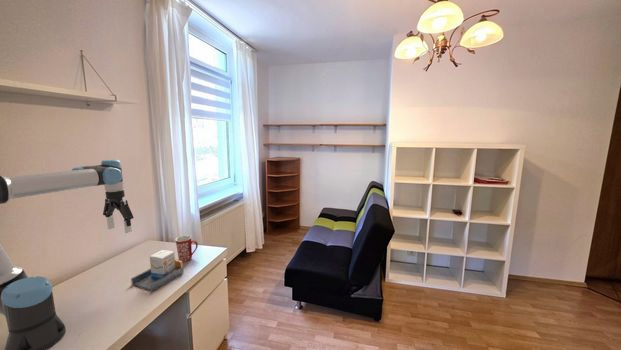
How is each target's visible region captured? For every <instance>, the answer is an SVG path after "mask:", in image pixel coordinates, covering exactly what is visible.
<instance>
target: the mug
mask: <svg viewBox="0 0 621 350" xmlns="http://www.w3.org/2000/svg"><path fill="white" fill-rule="evenodd" d="M174 239H175V245H176V251H177V257H178V260H180V261H182V263H183V261H184V262H188V261H190V260H191V259H192V258H193V255H194V253H195V252H196V251H197V250H198V246H199V245H198V241H197V240H196V239H195V240H192V236H191V235H187V234H186V235H181V236H178V237H175V238H174ZM193 243H194V244H195V248H194V250H193V251H192V249H193V248H192V244H193Z"/></svg>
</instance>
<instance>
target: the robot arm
mask: <svg viewBox="0 0 621 350" xmlns="http://www.w3.org/2000/svg"><path fill="white" fill-rule="evenodd" d="M98 186H104V191H105V199H104V208H103V211H102V215H103V216H105V218H106V222H107V229H108V230H111V229H115V227H116V226H115V221H114V212H115V210H117V211H119V213H120V215H121V216H122V218H123V225H124V233H125V234H128V233H130V232H132V222H131V220H132V219H134V215H133V213H132V210H131V209H130V206H129V204H128V203H129V202H128V200H127V199H125V200H123V198H124V197H126V195H125V190H124V188H125V187H124V178H123V170H122V164H121V161H120V160H119V159H104V160H101V163H100V164H98V165H86V166H78V167H77V166H76V167H73V168H72V169H71V170H63V171H56V172H55V171H54V172H44V173H32V174H25V175H24V174H23V175H13V176H4V175H2V174H0V205H3V204H7V203H8V202H10V200H13V199H15V200H16V199H21V198H26V197H33V196H39V195H46V194H52V193H58V192H64V191H71V190H77V189H85V188H89V187H98ZM54 299H55V298H54V293H53V285H52V283H51V280H50V279H49V278H47V277H45V276H40V275H38V276H30V277H29V276H28V275H27V273H26V272H25V271H24V269H23V267H22V266H18V265H17V266H16V265H14V264H13V262H12V260H11V259H10V257H9V255H8V254H7V251H6V250H5V249H4V247H3V245H2V243H0V315H2V316H4V318H5V320H6V325H7V330H8V336H7V339H6V343H5V346H4V350H47V349H50V348H51V347H52V346H54V345H56V344H57V343H58V342H59V341H60V340H61V339H62V338H63V337H64V336H65V334H66V332H67V331H66V324H65V323H64V322H63V321H62V320H61V318H60V317H59V316H58V315H57V312H56V304H55V300H54Z"/></svg>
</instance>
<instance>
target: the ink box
mask: <svg viewBox="0 0 621 350" xmlns="http://www.w3.org/2000/svg"><path fill="white" fill-rule="evenodd" d="M175 255H176V254H175V251H173V250H167V249H161V250H159V251H158V252H155V253H153V254H151V255H150V256H149V264H150V265H149V266H150V268H151V277H156V278H162V277H164V276H166V275H167V274H169V273H171V272H173V271H174V270H176V265H175V259H176V257H175Z"/></svg>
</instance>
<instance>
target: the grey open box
mask: <svg viewBox="0 0 621 350" xmlns="http://www.w3.org/2000/svg"><path fill="white" fill-rule="evenodd" d="M183 264H184V263H183V262H182V261H180V260H179V259H176V258H175V265H176V270H174V271H173V272H171V273H169V274H167V275H166V276H164V277H162V278H156V277H151V267H150V268H149V269H146V270H145V271H143V272H141V273H139V274H137V275H135V276H132V277H131V279H130V281H131V285H132V286H135V287H138V288H140V289H144V290H146V291H150V292H154V291H156V290H157V289H159V288H161V287H163V286H164V285H166V284H167V283H169V282H170V281H172V280H174V279H176V278H178V276H180V275H182V274H184V266H183Z"/></svg>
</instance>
